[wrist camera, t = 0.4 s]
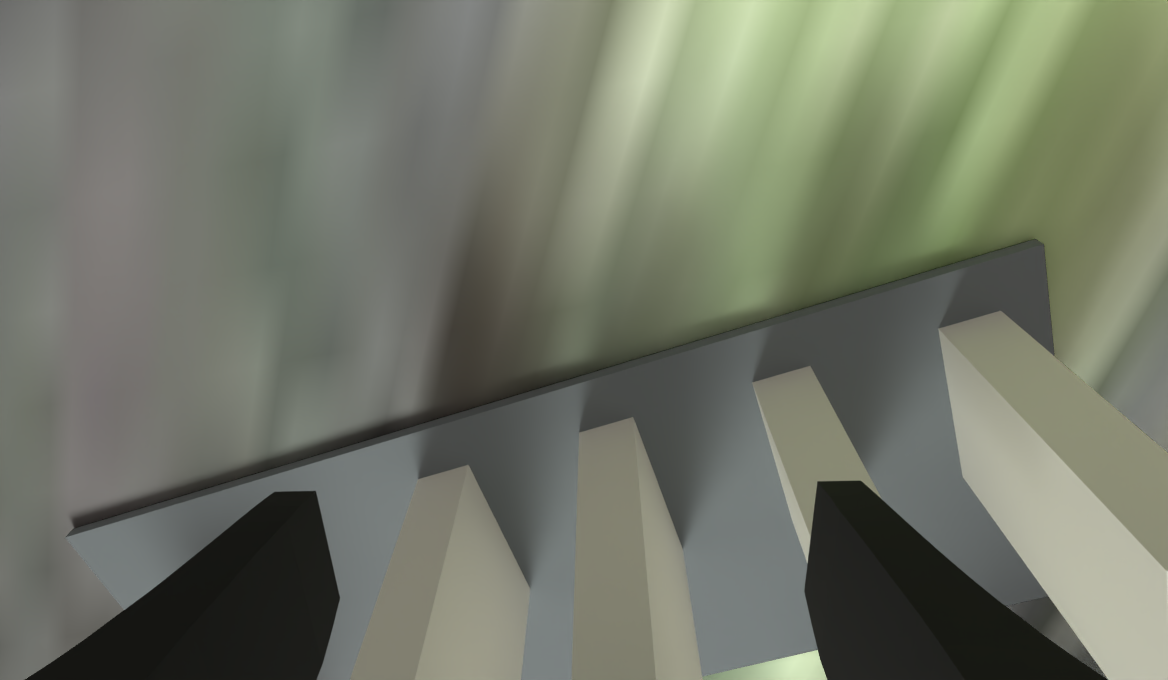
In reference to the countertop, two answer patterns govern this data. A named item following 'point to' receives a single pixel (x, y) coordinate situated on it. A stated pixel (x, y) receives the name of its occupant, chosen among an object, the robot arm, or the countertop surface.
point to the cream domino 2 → (627, 567)
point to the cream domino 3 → (806, 443)
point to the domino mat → (655, 470)
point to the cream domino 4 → (1066, 489)
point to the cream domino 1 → (448, 592)
